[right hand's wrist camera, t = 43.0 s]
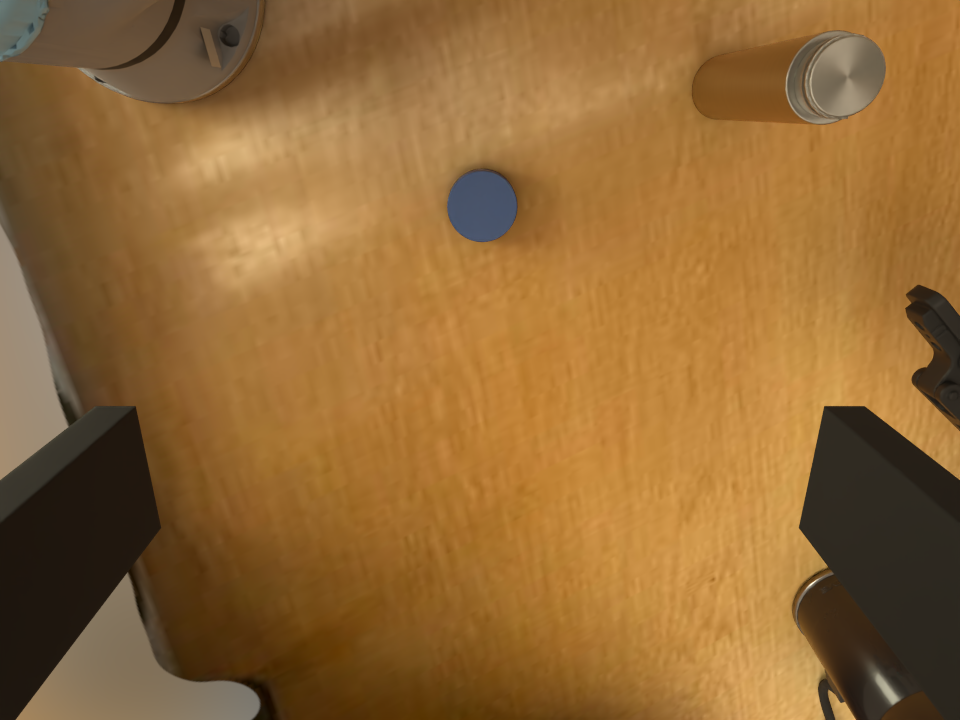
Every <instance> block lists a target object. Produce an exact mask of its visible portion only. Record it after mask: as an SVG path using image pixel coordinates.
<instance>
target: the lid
mask: <svg viewBox="0 0 960 720" xmlns="http://www.w3.org/2000/svg"><path fill="white" fill-rule="evenodd" d="M447 208H448V215H449V218H450V221H451V223H452V225H453V226H454V228H455V229H456V230H457V231H458V232H459V233H460V234H461V235H462V236H464V237H465V238H467V239H470V240H473V241H477V242H488V241H492V240H495V239H497V238H499V237H501V236H502V235H504V234H505V233H506V232H507V231H508V230H509V229H510V227H511V226H512V224H513V222H514V220H515V217H516V213H517V199H516V196H515V193H514V190H513V188H512V186H511V184H510V183H509V182H508V180H507V179H506V178H505V177H504V176H502V175H501V174H499V173H498V172H496V171H493V170H489V169H475V170H472V171H469V172H467V173H465V174H464V175H462V176H461V177H460V178H459V179H458V180H457V181H456V182H455V184H454V185H453V187H452V189H451V192H450V194H449V198H448V205H447Z"/></svg>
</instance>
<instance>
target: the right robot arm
mask: <svg viewBox="0 0 960 720" xmlns="http://www.w3.org/2000/svg"><path fill="white" fill-rule="evenodd" d="M264 7H265V0H0V61H1V62H2V61H9V62H20V63H31V64H42V65H53V66H64V67H75V68H78V69H80V70H81V71H82V72H83V73H85V74H86V75H87V76H89V77H90V78H92V79H93V80H95V81H96V82H98V83H99V84H101V85H103V86H104V87H106V88H108V89H110V90H112V91H115V92H117V93H120V94H122V95H125V96H127V97H130V98H134V99H137V100H141V101H146V102H153V103H185V102H191V101H195V100H199V99H202V98H205V97H207V96H209V95H212V94H214V93H216V92H217V91H219V90H220V89H222V88H224V87H225V86H226V85H227V84H229V83H230V82H231V81H232V80H233V79H234V78H235V77H236V76H237V75H238V74H239V73H240V72H241V71H242V69H243V68H244V67H245V65H246V64H247V62H248V61H249V59H250V57H251V56H252V53H253V51H254V49H255V47H256V45H257V42H258V39H259V36H260V32H261V29H262V24H263V18H264ZM160 529H161V525H160V520H159V516H158V511H157V506H156V501H155V497H154V492H153V487H152V482H151V477H150V473H149V468H148V463H147V458H146V454H145V449H144V444H143V439H142V434H141V430H140V425H139V420H138V415H137V411H136V406H95V407H94V408H93V409H91V410H90V411H89V412H87V413H86V414H85V415H84V416H82V417H81V418H80V419H78V420H77V421H76V422H75V423H73V424H72V425H71V426H69V427H68V428H67V429H66V430H64V431H63V432H62V433H60V434H59V435H58V436H57V437H55V438H54V439H53V440H51V441H50V442H49V443H48V444H46V445H45V446H44V447H42V448H41V449H40V450H39V451H37V452H36V453H35V454H33V455H32V456H31V457H30V458H28V459H27V460H26V461H24V462H23V463H22V464H21V465H19V466H18V467H17V468H15V469H14V470H13V471H12V472H10V473H9V474H8V475H6V476H5V477H4V478H3V479H1V480H0V720H16V718H17V717H18V716H19V714H20V713H21V712H22V710H23V709H24V708H25V706H26V705H27V704H28V702H29V701H30V700H31V699H32V697H33V696H34V695H35V693H36V692H37V691H38V689H39V688H40V687H41V685H42V684H43V683H44V681H45V680H46V679H47V678H48V676H49V675H50V674H51V672H52V671H53V670H54V668H55V667H56V666H57V664H58V663H59V662H60V660H61V659H62V658H63V656H64V655H65V654H66V652H67V651H68V650H69V649H70V647H71V646H72V645H73V643H74V642H75V641H76V639H77V638H78V637H79V635H80V634H81V633H82V631H83V630H84V629H85V627H86V626H87V625H88V623H89V622H90V621H91V619H92V618H93V617H94V616H95V614H96V613H97V612H98V610H99V609H100V608H101V606H102V605H103V604H104V602H105V601H106V600H107V598H108V597H109V596H110V594H111V593H112V592H113V590H114V589H115V588H116V587H117V585H118V584H119V583H120V581H121V580H122V579H123V577H124V576H125V575H126V573H127V572H128V571H129V569H130V568H131V567H132V566H133V564H134V563H135V562H136V560H137V559H138V558H139V556H140V555H141V554H142V552H143V551H144V550H145V548H146V547H147V546H148V544H149V543H150V542H151V540H152V539H153V538H154V537H155V535H156V534H157V533H158V531H159V530H160ZM799 529H800V530H801V531H802V533H803V534H804V535H805V537H806V538H807V539H808V540H809V542H810V543H811V544H812V546H813V547H814V548H815V550H816V551H817V552H818V554H819V555H820V556H821V558H822V559H823V560H824V562H825V563H826V564H827V566H828V567H829V568H830V569H831V571H832V572H833V573H834V575H835V576H836V577H837V579H838V580H839V581H840V583H841V584H842V585H843V587H844V588H845V589H846V591H847V592H848V593H849V594H850V596H851V597H852V598H853V600H854V601H855V602H856V604H857V605H858V606H859V608H860V609H861V610H862V612H863V613H864V614H865V616H866V617H867V618H868V620H869V621H870V622H871V623H872V625H873V626H874V627H875V629H876V630H877V631H878V633H879V634H880V635H881V637H882V638H883V639H884V641H885V642H886V643H887V645H888V646H889V647H890V649H891V650H892V651H893V652H894V654H895V655H896V656H897V658H898V659H899V660H900V662H901V663H902V664H903V666H904V667H905V668H906V670H907V671H908V672H909V674H910V675H911V676H912V678H913V679H914V680H915V681H916V683H917V684H918V685H919V687H920V688H921V689H922V691H923V692H924V693H925V695H926V696H927V697H928V699H929V700H930V701H931V703H932V704H933V705H934V707H935V708H936V709H937V710H938V712H939V713H940V714H941V716H942V717H943V718H944V720H960V480H959V479H958V478H956V477H955V476H954V475H952V474H951V473H950V472H949V471H947V470H946V469H945V468H943V467H942V466H941V465H940V464H938V463H937V462H936V461H934V460H933V459H932V458H930V457H929V456H928V455H927V454H925V453H924V452H923V451H921V450H920V449H919V448H918V447H916V446H915V445H914V444H912V443H911V442H910V441H909V440H907V439H906V438H905V437H903V436H902V435H901V434H900V433H898V432H897V431H896V430H894V429H893V428H892V427H891V426H889V425H888V424H887V423H885V422H884V421H883V420H882V419H880V418H879V417H878V416H876V415H875V414H874V413H873V412H871V411H870V410H869V409H867V408H866V407H865V406H824V411H823V415H822V420H821V425H820V430H819V434H818V439H817V444H816V449H815V454H814V458H813V463H812V468H811V473H810V477H809V482H808V487H807V492H806V497H805V501H804V506H803V511H802V516H801V520H800V525H799Z"/></svg>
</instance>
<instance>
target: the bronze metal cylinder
mask: <svg viewBox="0 0 960 720" xmlns="http://www.w3.org/2000/svg"><path fill="white" fill-rule="evenodd" d="M885 70H886V66H885V59H884V56H883V53H882V51H881V50H880V48H879V47H878V46H877V44H875V43H874V42H873V41H872V40H871V39H869V38H867V37H865V36H864V35H859V34H854V33H850V32H846V31H840V30H836V31H828V32H823V33H819V34H814V35H810V36H805V37H801V38H796V39H791V40H787V41H782V42H778V43H773V44H769V45H764V46H759V47H755V48H750V49H746V50H741V51H737V52H732V53H727V54H723V55H719V56H715V57H713V58H711V59H710V60H708V61H707V62H706V63H704V64H703V65H702V67H701V68H700V69H699V70H698V72H697V74H696V76H695V78H694V81H693V86H692V96H693V101H694V104H695V106H696V107H697V109H698V110H699V111H700V112H701V113H702V114H703V115H704V116H706V117H708V118H711V119H717V120H736V121H756V122H776V123H796V124H816V125H825V124H831V123H834V122H837V121H839V120H842V119H848V117H849V116H851V115H854V114H856V113H858V112H860V111H861V110H863V109H864V108H866V107H867V106H868V105H869V104H870V103H871V102H872V101H873V100H874V99H875V97H876V96H877V94H878V93H879V91H880V89H881V87H882V85H883V82H884V78H885Z"/></svg>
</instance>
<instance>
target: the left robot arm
mask: <svg viewBox="0 0 960 720" xmlns="http://www.w3.org/2000/svg"><path fill="white" fill-rule="evenodd" d="M906 296H907V298H908V299H909V300H910V301H911V303H912V304H910V305H909V306H908V307H907V308H905V309H906V313H907V317H908V319H909V320H910V321H911V322H912V324H914V326H915V327H916V328H917V329H918V331H919V332H920V333H921V334H922V336H923V337H924V338H925V339H926V340H927V342H928V343H929V344H930V345H931V346H932V348H933V350H934V356H933V359H932V361H931V363H930V364H929V365H928V367H927V368H926V367H925V368H920V369H918V370H917V371H916V372H915V373H914V374H913V376H912V383H913V385H914V386H915V387H916V388H917V389H918V390H919V391H920V392H921V393H922V394H923V395H924V396H925V397H926V398H927V399H928V400H929V401H930V402H931V403H932V404H933V405H934V406H935V407H936V408H937V409H938V410H939V411H940V412H941V413H942V414H943V415H944V416H945V417H946V418H947V419H948V420H949V421H950V422H951V423H952V424H953V425H954V426H955V427H956V428H957V429H958V430H959V431H960V316H959V315H958V313H957V312H956V311H955V309H954V308H953V307H952V306H951V304H950V303H949V302H948V301H947V300H946V298H944V297H943V296H942V295H941V294H939V293H938V292H936V291H934V290H931V289H929V288H926V287H923V286H921V285H917V286H916V287H914V288H913V289H912V290H911V291H909V292H908V293H907V294H906ZM793 617H794V620H795V623H796V624H797V626H798V628H799V629H800V631H801V632H802V633H803V635H804V636H805V637H806V639H807V640H808V642H809V644H810V645H811V647H812V649H813V650H814V652H815V654H816V655H817V657H818V659H819V660H820V662H821V664H822V665H823V667H824V668H825V672H826V676H827V679H824V680H823V681H821V682H820V684H819V687H818V692H819V698H820V702H821V706H822V710H823V713H824V716H825V719H826V720H835V717H834V714H833V711H832V708H831V705H830V702H829V698H828V689H829V690H830V691H832V692H833V693H834V694H835V695H836V696H837V698H838V700H839V701H840V703H842V702H845V703H846V704H847V706H848V707H849V709H850V711H851V712H852V714H853V716H854V717H855V719H856V720H944V718H943V717H942V716H941V714H940V713H939V712H938V710H937V709H936V708H935V707H934V705H933V704H932V703H931V701H930V700H929V699H928V697H927V696H926V695H925V693H924V692H923V691H922V689H921V688H920V687H919V685H918V684H917V683H916V681H915V680H914V679H913V678H912V676H911V675H910V674H909V672H908V671H907V670H906V668H905V667H904V666H903V664H902V663H901V662H900V660H899V659H898V658H897V656H896V655H895V654H894V652H893V651H892V650H891V649H890V647H889V646H888V645H887V643H886V642H885V641H884V639H883V638H882V637H881V635H880V634H879V633H878V631H877V630H876V629H875V627H874V626H873V625H872V623H871V622H870V621H869V620H868V618H867V617H866V616H865V614H864V613H863V612H862V610H861V609H860V608H859V606H858V605H857V604H856V602H855V601H854V600H853V598H852V597H851V596H850V594H849V593H848V592H847V591H846V589H845V588H844V587H843V585H842V584H841V583H840V581H839V580H838V579H837V577H836V576H835V575H834V573H833V572H832V571H831V569H827V570H825V571H823V572H821V573H819V574H817V575H815V576H814V577H812V578H811V579H810V580H809V581H807V582H806V583H805V584H804V585H803V587H802V588H801V589H800V590H799V592H798V594H797V595H796V598H795V600H794V603H793Z"/></svg>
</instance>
